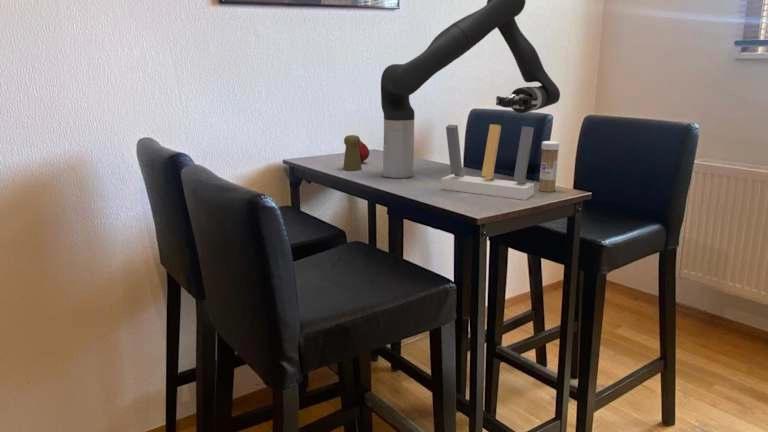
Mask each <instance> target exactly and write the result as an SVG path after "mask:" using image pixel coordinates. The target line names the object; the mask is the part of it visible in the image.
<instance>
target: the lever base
mask: <svg viewBox="0 0 768 432" xmlns="http://www.w3.org/2000/svg"><path fill="white" fill-rule="evenodd" d="M440 190H446V191H453V192H454V191H455V192H461V193H470V194H476V195H477V194H478V195H484V196H493V197H499V198H508V199H515V200H523V201H525V200H527V199H530V198H531V197H533V196H534V194H535V183H532V182H527V181H524V182H523V183H522V184H518V183H517V181H516V180H515V181H514V180H505V179H496V178H495V177H492V178H491V179H490V180H485V177H478V176H471V175H465V174H461V175H460V176H458V177H457V176H455V175H454V174H450V175H447V176H444V177H441V179H440Z"/></svg>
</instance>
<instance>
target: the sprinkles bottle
mask: <svg viewBox="0 0 768 432" xmlns="http://www.w3.org/2000/svg"><path fill="white" fill-rule="evenodd" d="M559 150H560V142H558V141H553V140H545V141H542V142H541V159H540V160H541V162H540V167H539V169H540V171H539V184H538V190H539V191H541V192H545V193H547V192H548V193H550V192H551V193H552V192H555V191H556V184H557V183H556V181H557V172H558V163H559V162H558V157H559Z"/></svg>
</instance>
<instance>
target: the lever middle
mask: <svg viewBox="0 0 768 432" xmlns="http://www.w3.org/2000/svg"><path fill="white" fill-rule="evenodd" d="M488 128H489V129H488V133H487V139H486V146H485V151H484V159H483V164H482V170H481V176H482V177H483V178H485V180H490V179H491V178H494V172H495V167H496V160H497V154H498V147H499V143H500V136H501V130H502V126H501V125H500V124H491V123H490V124H489V127H488Z"/></svg>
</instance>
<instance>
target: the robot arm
mask: <svg viewBox="0 0 768 432" xmlns="http://www.w3.org/2000/svg"><path fill="white" fill-rule="evenodd" d="M525 5H526V0H487V1H486V4H485V5H484V6H483V7H481V8H480V9H478V10H476V11H474V12H472V13H470V14H468V15H466V16H464V17H462V18H459V19H458V20H456V21H454V23H452V24H450V25H449V26H447V27H446V28H444V29H443V30H442V31H440V33H438V34H437V35H436V36H435V37H434V39H433V40H432V41H431V43H430V44H429V45H428V46H427V48H426V49H425V50H424V51H423V52H421V53H420V54H419V55H418V56H416V57H414V58H412V59H411V60H409V61H407V62H405V63H402V64H401V63H394V64H393V63H392V64H390V65H388V66H387V67H385V68H384V69H383V72H382V74H381V77H380V101H381V103H380V104H381V109H382V112H383V146H382V147H383V149H382V150H383V151H382V152H383V156H382V157H383V165H382V166H383V170H382V172H383V174H382V175H383V176H382V177H383V178H393V179H406V178H412V177H413V176H414V173H415V172H414V171H415V170H414V169H415V167H414V163H415V161H414V159H415V156H414V155H415V110H414V108H413V106H412V105H411V102H410V96H411V95H413V94H414V93H416V92H417V91H418V90H419V89H420V88H421V87H422V86H423V85H424V84H426V82H427V81H428V80H430V79H431V78H433V76H434V75H436V74H437V73H439V72H440V71H441V70H443V69H445V68H446V67H447V66H449V65H450V64H451V63H453V62H454V61H456V60H457V59H460V58H461V57H462V56H463V55H464V54H466V53H467V52H469V51H470V50H471V49H472V48H474V47H475V46H476V45H477V44H479V43H480V42H481V41H482V40H483V39H485V38H486V36H488V35H489V34H490V33H491V32H493V31H494V30H495V29H497V30H498V31H499V32H500V35H501V36H502V38H503V40H504V41H505V43H506V44H507V46H508V48H509V50H510V52H511V54H512V56H513V59H514V60H515V64H516V65H517V67H518V70H519V73H520V74H521V77H522V79H523V81H524V82H525V83H529V84H530V83H535V82H536V83H539V84H541V85H539V86H523V87H518V88H515V89H514V90H513V91H512V92H511V93H510V95H508V96H500V95H497V96H496V98H495V105H496V106H499V107H502V108H508V109H511V110H513V111H514V112H515V113H517V114H525V113H529V112H534V111H538V110H540V109H543V108H545V107H549V106H553V105H555V104H556V103H558V102H559V100H560V99H561V91H560V89H559V87H558V86H557V84H556V83H555V81H554V80H552V78H551V77H550V76H549V74H548V73H547V71H546V70H545V68H544V65H543V63H542V61H541V58H540V56H539V53H538V52H537V50H536V48H535V47H534V45H533V44H532V43H531V42H530V40H528V38H527V37H526V36H525V35H524V33H523V32H522V30H521V29H520V27H519V25H518V23H517V21H516V17H517V16H520V14H521V13H522V12H523V10H524V8H525Z"/></svg>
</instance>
